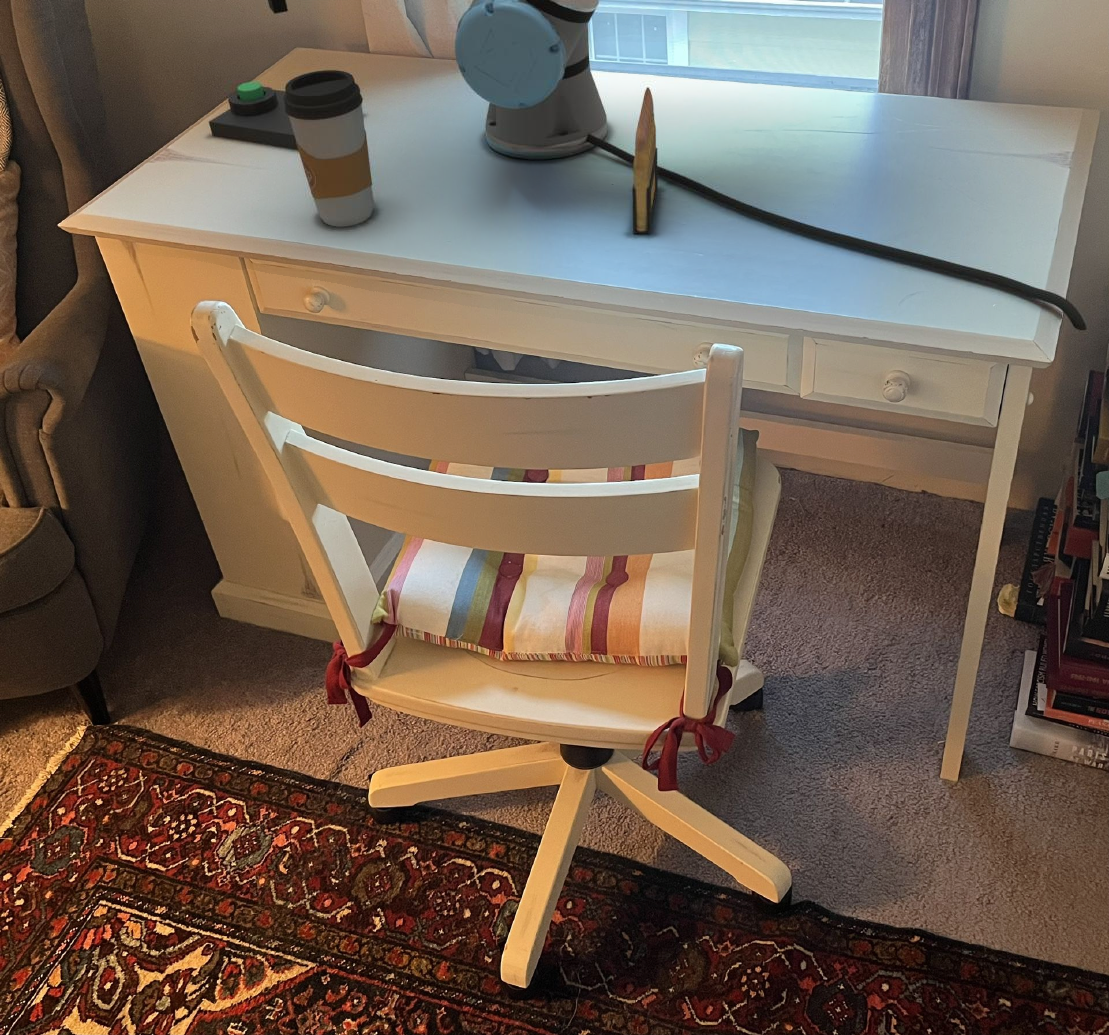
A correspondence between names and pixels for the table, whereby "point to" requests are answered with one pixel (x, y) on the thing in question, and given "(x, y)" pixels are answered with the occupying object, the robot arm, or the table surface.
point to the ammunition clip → (645, 168)
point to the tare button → (250, 91)
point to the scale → (256, 120)
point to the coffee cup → (332, 144)
